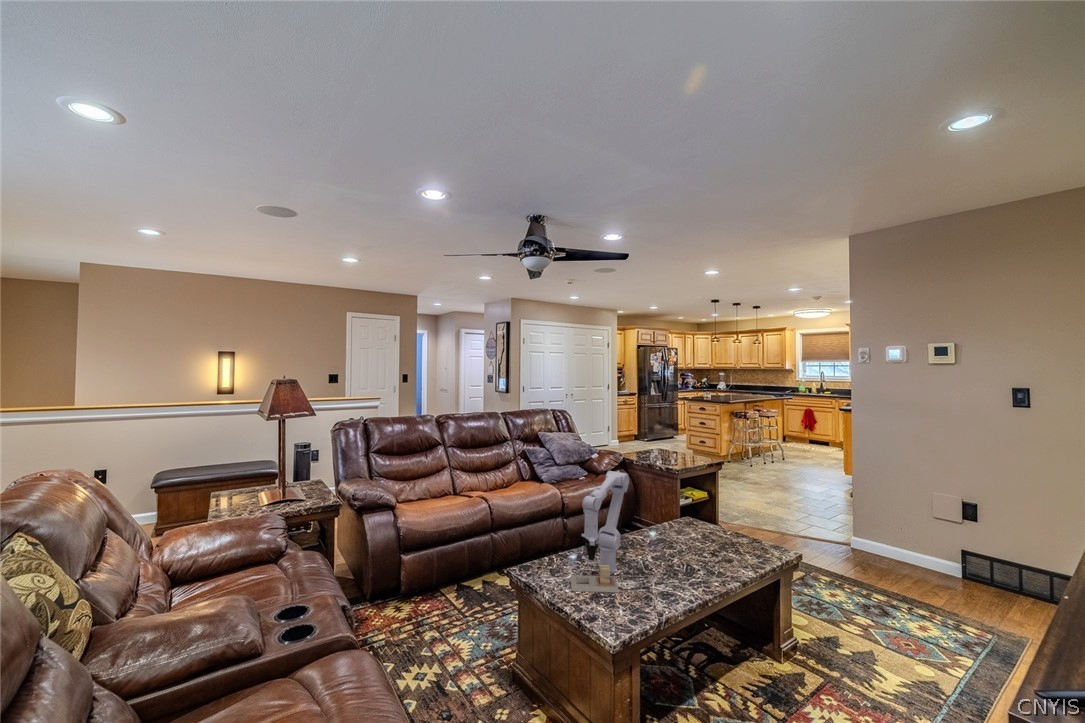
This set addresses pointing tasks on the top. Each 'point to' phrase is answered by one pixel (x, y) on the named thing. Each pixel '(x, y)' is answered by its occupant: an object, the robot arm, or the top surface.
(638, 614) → the top surface
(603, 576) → the peg
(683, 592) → the top surface
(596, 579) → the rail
